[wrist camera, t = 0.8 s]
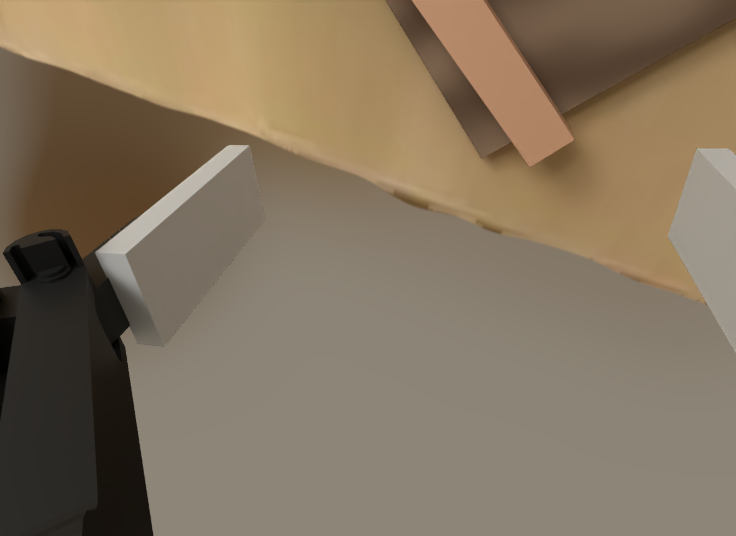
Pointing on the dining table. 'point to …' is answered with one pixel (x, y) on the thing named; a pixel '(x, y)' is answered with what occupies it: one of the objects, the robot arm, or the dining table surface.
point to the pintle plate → (566, 48)
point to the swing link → (499, 75)
